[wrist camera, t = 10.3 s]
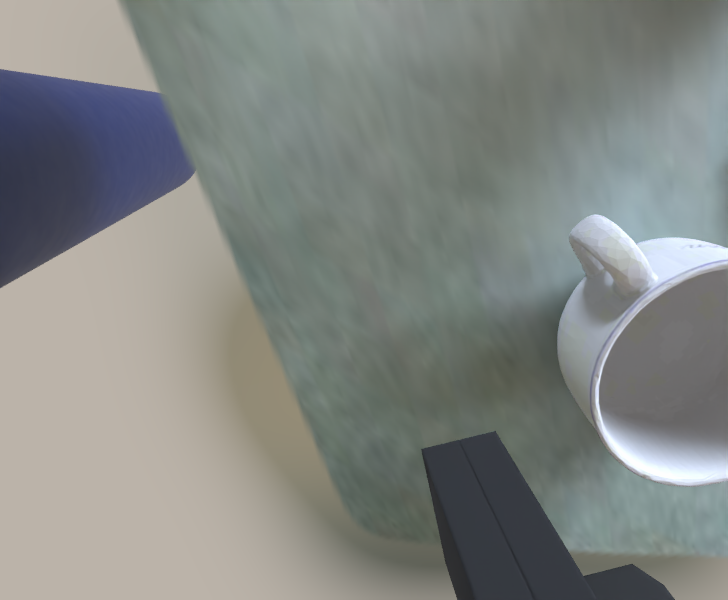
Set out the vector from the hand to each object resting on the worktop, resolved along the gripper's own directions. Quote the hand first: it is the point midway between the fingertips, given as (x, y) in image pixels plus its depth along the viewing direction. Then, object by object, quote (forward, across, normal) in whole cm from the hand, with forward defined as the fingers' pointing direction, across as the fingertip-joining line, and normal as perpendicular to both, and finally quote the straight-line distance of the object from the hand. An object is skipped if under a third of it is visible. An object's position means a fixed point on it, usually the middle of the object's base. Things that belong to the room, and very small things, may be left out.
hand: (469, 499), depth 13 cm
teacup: (+21, +13, -5) cm, 25 cm away
